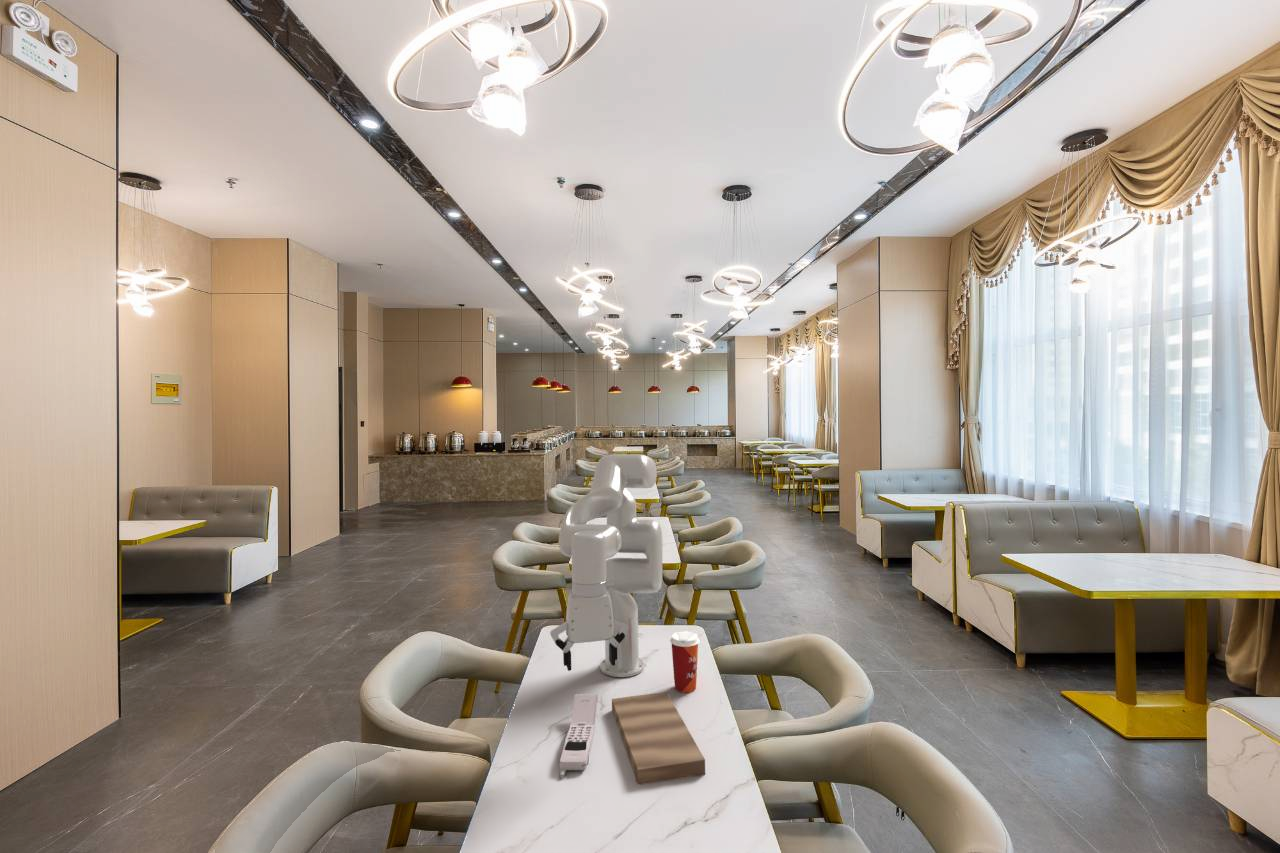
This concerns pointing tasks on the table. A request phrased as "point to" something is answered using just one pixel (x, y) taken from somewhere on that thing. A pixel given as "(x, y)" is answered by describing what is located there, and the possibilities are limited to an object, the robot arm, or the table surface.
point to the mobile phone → (579, 734)
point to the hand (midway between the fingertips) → (590, 665)
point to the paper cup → (685, 660)
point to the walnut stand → (656, 738)
